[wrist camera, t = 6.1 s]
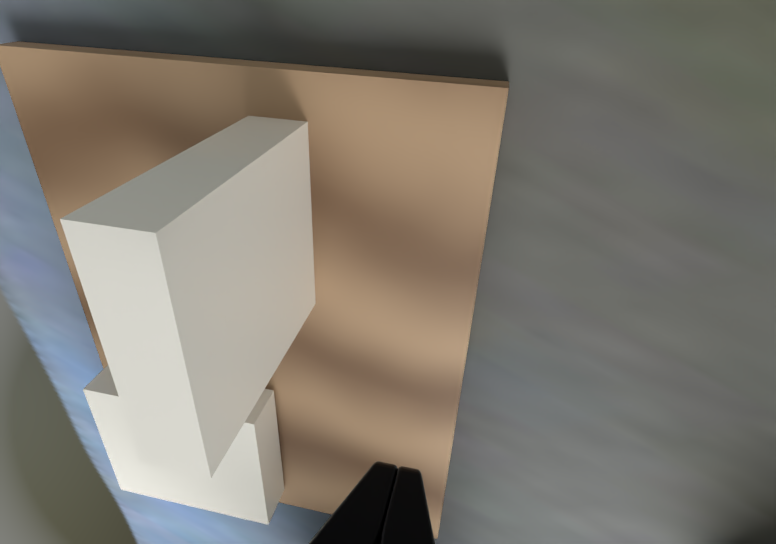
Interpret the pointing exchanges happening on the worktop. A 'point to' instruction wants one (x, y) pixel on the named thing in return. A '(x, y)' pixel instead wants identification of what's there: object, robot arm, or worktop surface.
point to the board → (329, 226)
